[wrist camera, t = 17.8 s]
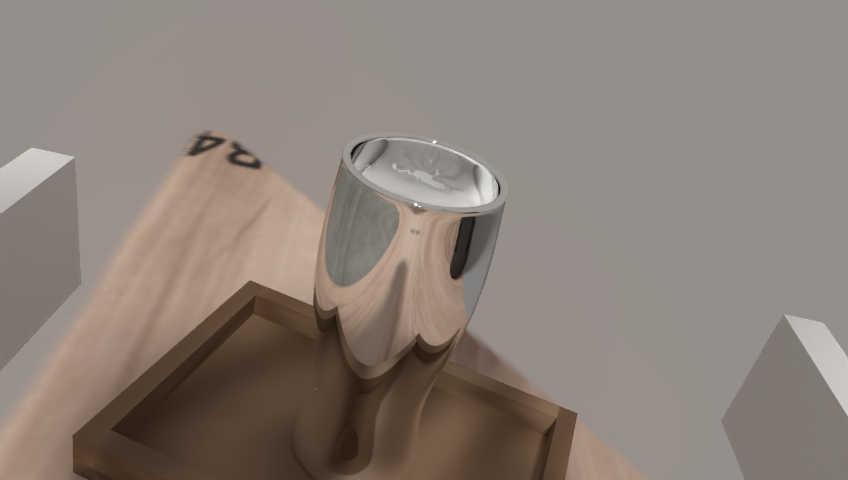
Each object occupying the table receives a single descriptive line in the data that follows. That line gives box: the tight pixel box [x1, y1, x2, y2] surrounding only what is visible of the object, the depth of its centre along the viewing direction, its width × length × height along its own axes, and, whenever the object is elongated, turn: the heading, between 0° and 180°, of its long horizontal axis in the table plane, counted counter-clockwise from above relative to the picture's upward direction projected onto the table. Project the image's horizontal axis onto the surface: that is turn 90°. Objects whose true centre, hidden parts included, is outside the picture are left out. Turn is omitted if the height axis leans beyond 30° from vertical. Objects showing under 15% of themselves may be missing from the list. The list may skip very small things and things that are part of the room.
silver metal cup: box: [292, 132, 509, 480], centre depth 30 cm, size 7×7×15 cm
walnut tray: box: [73, 281, 577, 480], centre depth 34 cm, size 20×14×2 cm
